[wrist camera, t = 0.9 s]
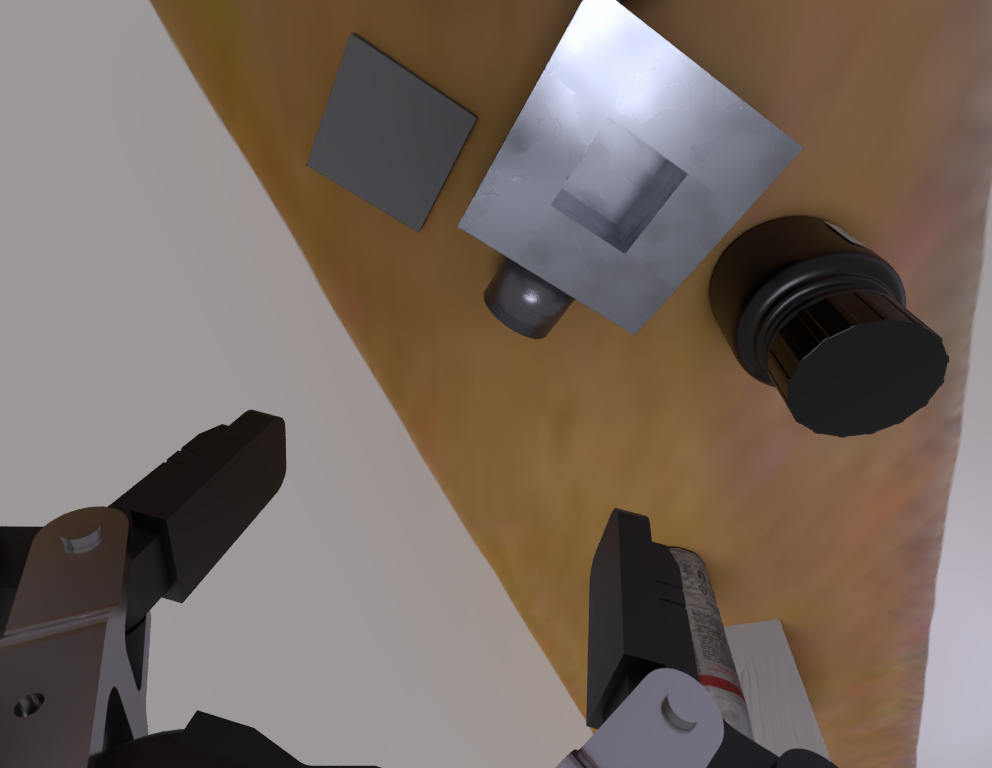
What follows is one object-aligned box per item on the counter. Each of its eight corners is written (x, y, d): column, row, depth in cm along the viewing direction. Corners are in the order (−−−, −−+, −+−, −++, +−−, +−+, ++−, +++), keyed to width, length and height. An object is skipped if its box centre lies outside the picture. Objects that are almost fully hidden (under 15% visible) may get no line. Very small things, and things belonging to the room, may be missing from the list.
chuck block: (446, 245, 35) (425, 284, 30) (586, -9, 26) (592, -18, 21) (588, 331, 38) (593, 381, 32) (759, 125, 29) (803, 148, 24)
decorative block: (778, 617, 55) (869, 864, 39) (801, 687, 62) (885, 919, 46) (633, 637, 60) (659, 863, 44) (670, 700, 68) (704, 912, 52)
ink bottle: (836, 337, 36) (939, 453, 26) (704, 349, 37) (754, 463, 28) (867, 196, 30) (1012, 276, 21) (711, 217, 32) (776, 300, 22)
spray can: (626, 541, 50) (657, 786, 34) (713, 543, 49) (788, 798, 33) (622, 591, 55) (647, 828, 39) (702, 595, 54) (762, 839, 38)
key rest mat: (310, 163, 33) (306, 165, 32) (354, 33, 28) (351, 33, 28) (420, 229, 34) (418, 232, 34) (478, 116, 30) (476, 118, 30)
